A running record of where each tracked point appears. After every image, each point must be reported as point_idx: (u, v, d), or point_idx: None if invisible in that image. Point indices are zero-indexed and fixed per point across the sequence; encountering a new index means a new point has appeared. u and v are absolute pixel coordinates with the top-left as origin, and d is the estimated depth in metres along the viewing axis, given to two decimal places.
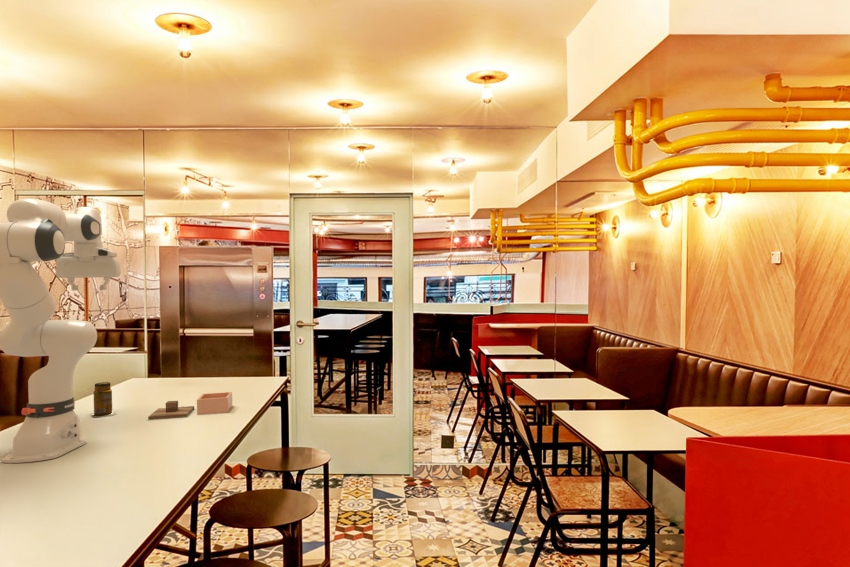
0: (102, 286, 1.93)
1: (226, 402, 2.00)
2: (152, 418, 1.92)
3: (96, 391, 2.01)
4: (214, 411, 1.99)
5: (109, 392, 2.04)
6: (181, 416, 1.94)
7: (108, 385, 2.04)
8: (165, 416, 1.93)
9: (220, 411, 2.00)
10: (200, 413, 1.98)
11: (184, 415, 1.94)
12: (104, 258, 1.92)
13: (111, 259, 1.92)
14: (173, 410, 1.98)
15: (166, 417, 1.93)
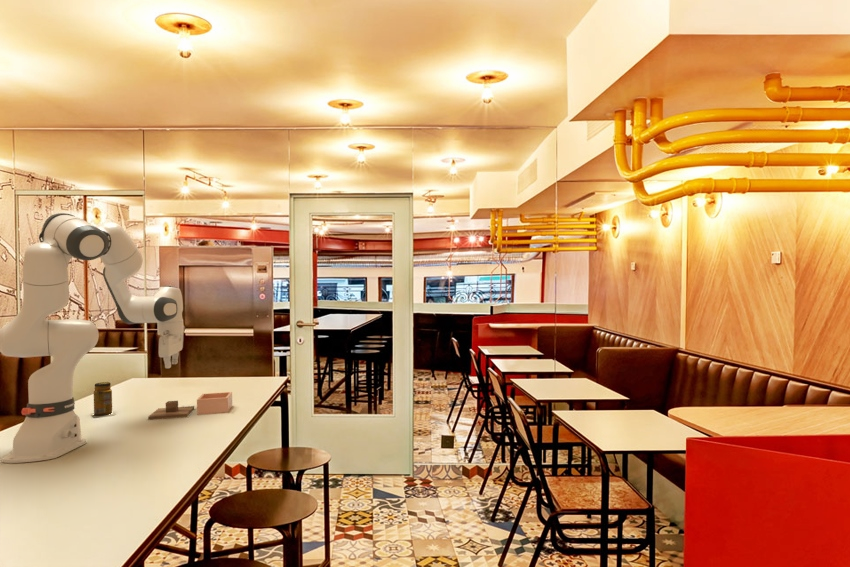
0: (177, 360, 2.04)
1: (226, 402, 2.00)
2: (152, 418, 1.92)
3: (96, 391, 2.01)
4: (214, 411, 1.99)
5: (109, 392, 2.04)
6: (181, 416, 1.94)
7: (108, 385, 2.04)
8: (165, 416, 1.93)
9: (220, 411, 2.00)
10: (200, 413, 1.98)
11: (184, 415, 1.94)
12: (182, 333, 2.06)
13: None
14: (173, 410, 1.98)
15: (166, 417, 1.93)
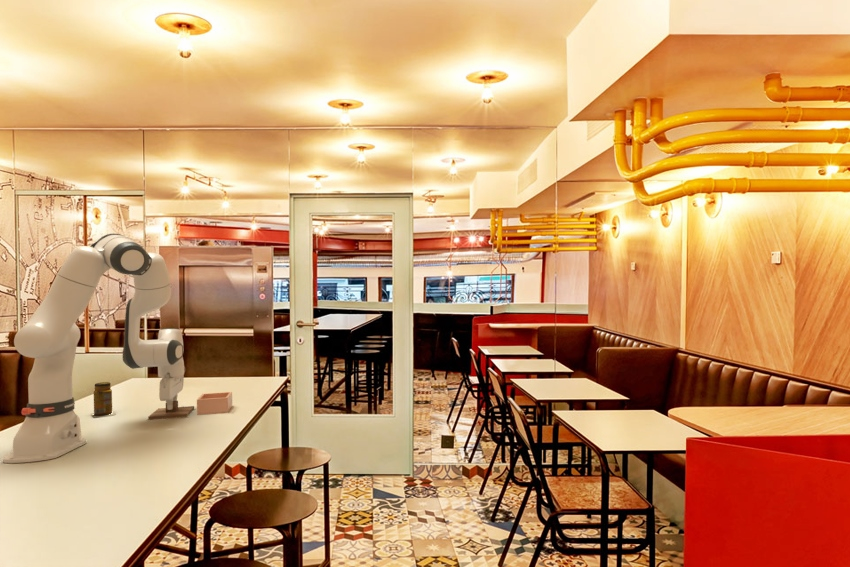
0: None
1: (226, 402, 2.00)
2: (152, 418, 1.92)
3: (96, 391, 2.01)
4: (214, 411, 1.99)
5: (109, 392, 2.04)
6: (181, 416, 1.94)
7: (108, 385, 2.04)
8: (165, 416, 1.93)
9: (220, 411, 2.00)
10: (200, 413, 1.98)
11: (184, 415, 1.94)
12: None
13: (183, 374, 2.08)
14: (173, 410, 1.98)
15: (166, 417, 1.93)
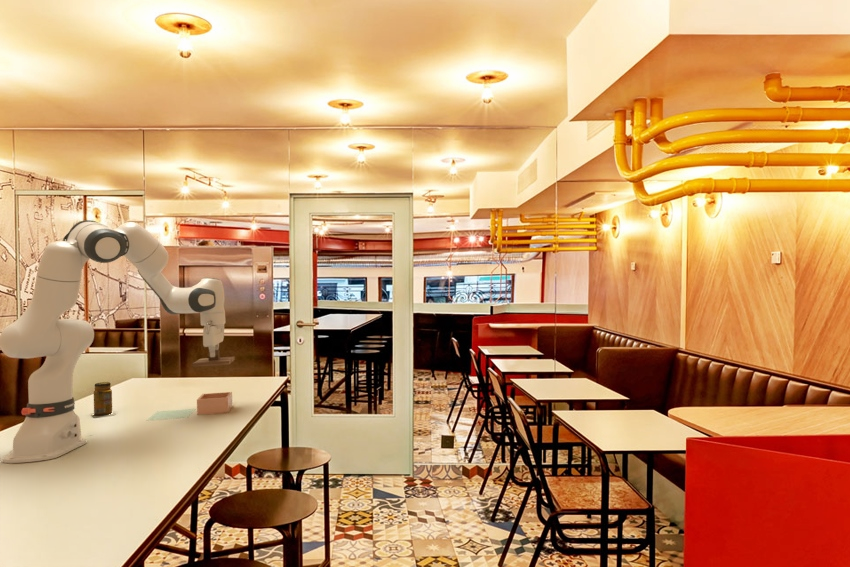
0: None
1: (226, 402, 2.00)
2: (196, 365, 1.96)
3: (96, 391, 2.01)
4: (214, 411, 1.99)
5: (109, 392, 2.04)
6: (224, 363, 1.98)
7: (108, 385, 2.04)
8: (208, 363, 1.97)
9: (220, 411, 2.00)
10: (200, 413, 1.98)
11: (227, 362, 1.98)
12: (223, 325, 2.10)
13: None
14: (215, 358, 2.02)
15: (209, 364, 1.97)
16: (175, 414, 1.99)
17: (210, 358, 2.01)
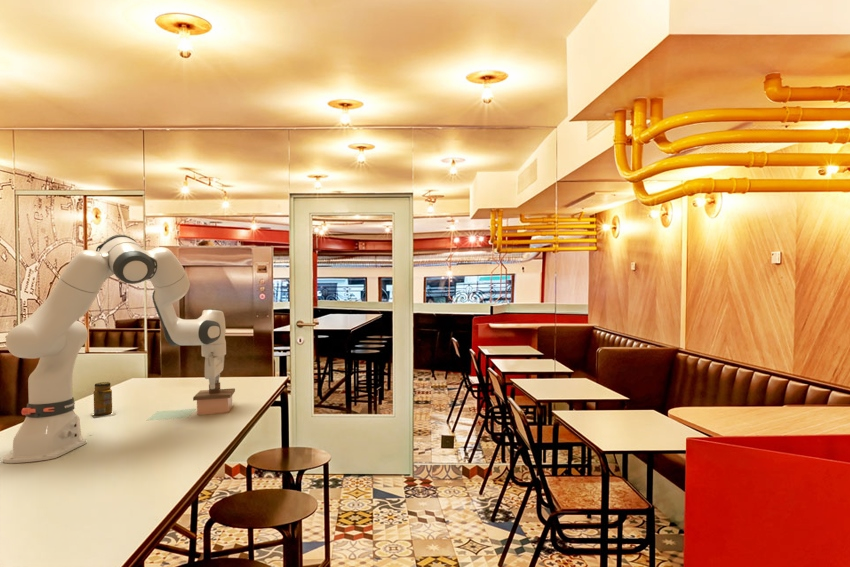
0: (218, 381, 2.08)
1: (226, 402, 2.00)
2: (197, 399, 1.97)
3: (96, 391, 2.01)
4: (214, 411, 1.99)
5: (109, 392, 2.04)
6: (225, 397, 1.99)
7: (108, 385, 2.04)
8: (209, 397, 1.98)
9: (220, 411, 2.00)
10: (200, 413, 1.98)
11: (228, 396, 1.99)
12: None
13: None
14: (216, 391, 2.03)
15: (210, 398, 1.98)
16: (175, 414, 1.99)
17: (211, 391, 2.02)
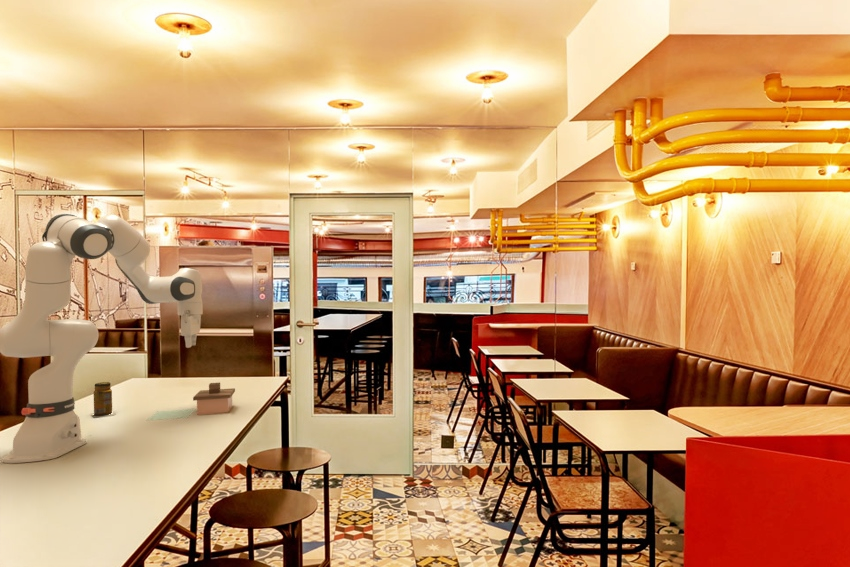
0: (195, 342, 2.07)
1: (226, 402, 2.00)
2: (197, 399, 1.97)
3: (96, 391, 2.01)
4: (214, 411, 1.99)
5: (109, 392, 2.04)
6: (225, 397, 1.99)
7: (108, 385, 2.04)
8: (209, 397, 1.98)
9: (220, 411, 2.00)
10: (200, 413, 1.98)
11: (228, 396, 1.99)
12: (200, 316, 2.10)
13: (200, 317, 2.12)
14: (216, 391, 2.03)
15: (210, 398, 1.98)
16: (175, 414, 1.99)
17: (211, 391, 2.02)
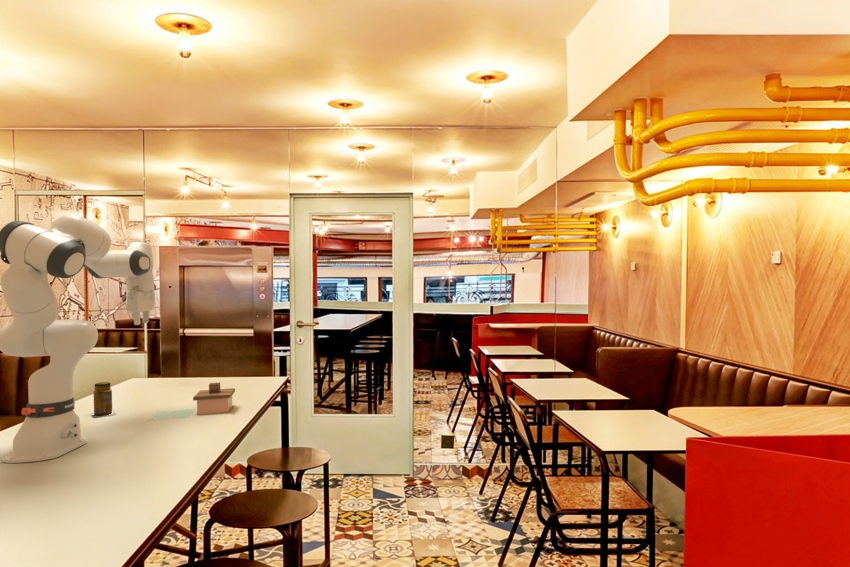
0: (147, 319, 1.99)
1: (226, 402, 2.00)
2: (197, 399, 1.97)
3: (96, 391, 2.01)
4: (214, 411, 1.99)
5: (109, 392, 2.04)
6: (225, 397, 1.99)
7: (108, 385, 2.04)
8: (209, 397, 1.98)
9: (220, 411, 2.00)
10: (200, 413, 1.98)
11: (228, 396, 1.99)
12: (153, 292, 2.01)
13: (154, 293, 2.03)
14: (216, 391, 2.03)
15: (210, 398, 1.98)
16: (175, 414, 1.99)
17: (211, 391, 2.02)
